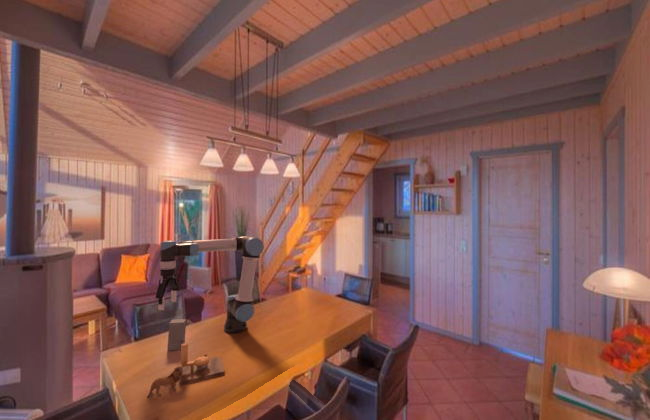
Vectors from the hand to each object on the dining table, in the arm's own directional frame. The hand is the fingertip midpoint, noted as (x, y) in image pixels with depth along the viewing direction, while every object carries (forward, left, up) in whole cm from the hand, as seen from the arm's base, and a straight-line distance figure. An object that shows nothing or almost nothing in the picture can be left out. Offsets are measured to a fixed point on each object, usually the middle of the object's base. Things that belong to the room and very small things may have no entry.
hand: (167, 305), depth 160 cm
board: (-16, +27, -27) cm, 42 cm away
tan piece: (-13, +27, -23) cm, 38 cm away
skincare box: (-5, -6, -27) cm, 28 cm away
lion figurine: (-1, +37, -27) cm, 46 cm away
